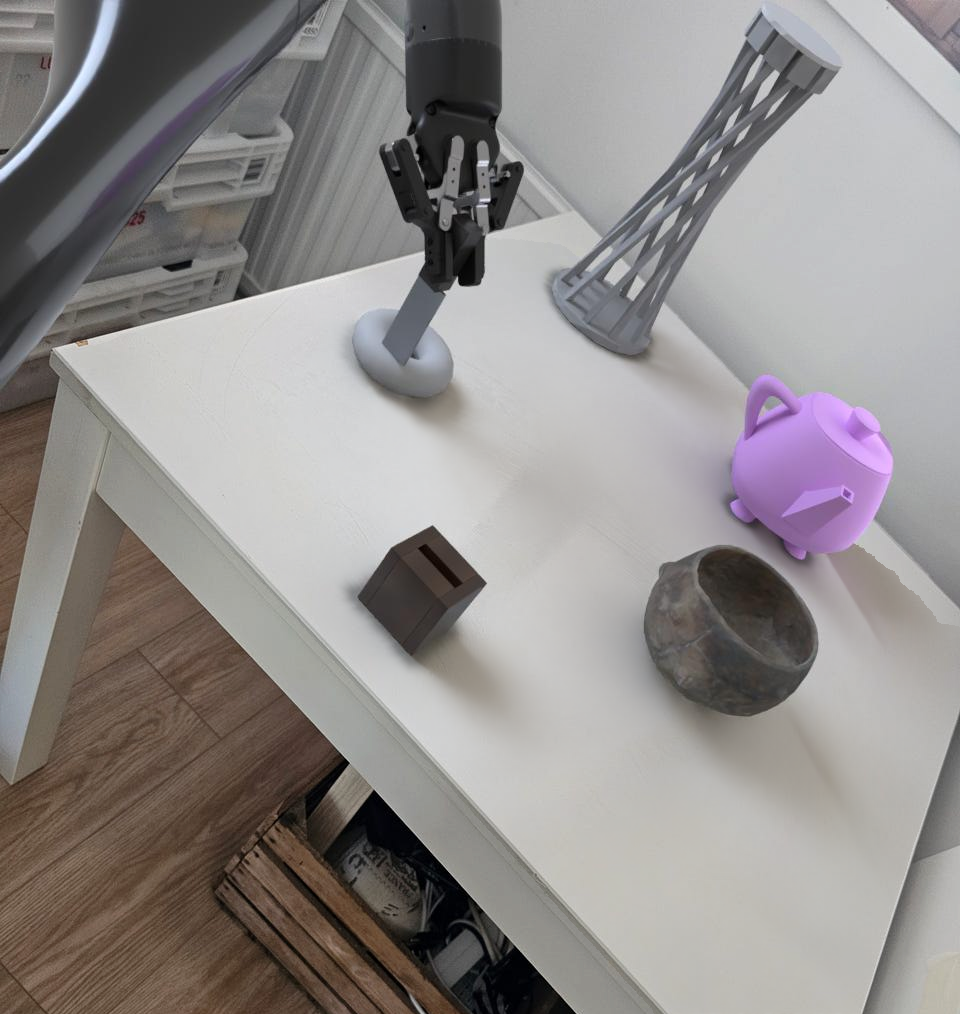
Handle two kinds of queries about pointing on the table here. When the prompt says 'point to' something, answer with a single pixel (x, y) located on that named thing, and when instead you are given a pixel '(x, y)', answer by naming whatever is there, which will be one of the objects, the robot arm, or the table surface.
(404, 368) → the donut
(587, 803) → the table surface
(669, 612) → the bowl
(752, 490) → the teapot
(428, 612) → the knife block
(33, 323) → the robot arm
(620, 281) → the gray lattice tower
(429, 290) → the knife
